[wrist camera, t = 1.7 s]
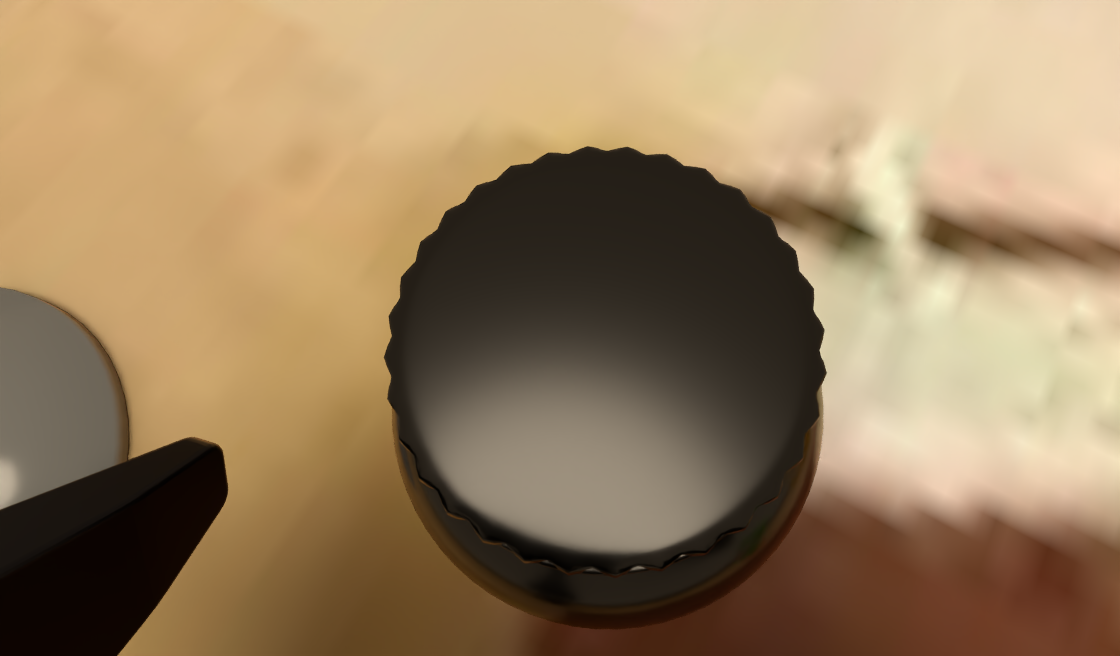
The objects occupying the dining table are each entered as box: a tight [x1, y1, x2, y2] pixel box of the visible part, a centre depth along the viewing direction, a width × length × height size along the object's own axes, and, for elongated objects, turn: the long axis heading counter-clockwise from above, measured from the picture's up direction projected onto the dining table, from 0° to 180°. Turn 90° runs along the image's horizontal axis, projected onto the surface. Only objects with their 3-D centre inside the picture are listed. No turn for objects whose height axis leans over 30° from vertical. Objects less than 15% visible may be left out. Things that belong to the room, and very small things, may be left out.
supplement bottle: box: [384, 146, 827, 629], centre depth 13 cm, size 7×7×12 cm
